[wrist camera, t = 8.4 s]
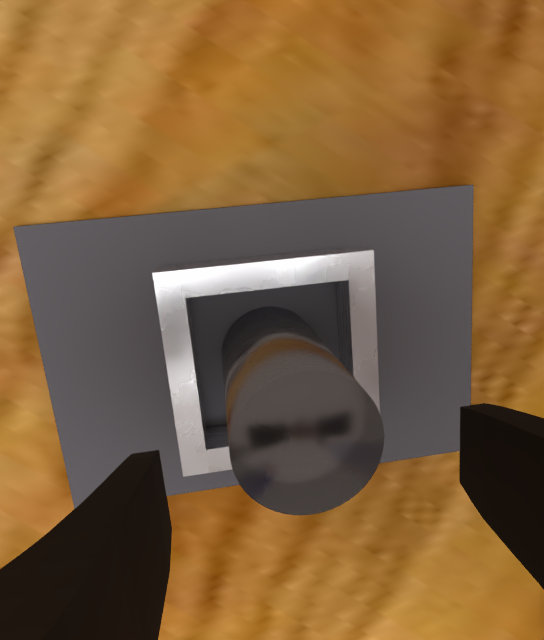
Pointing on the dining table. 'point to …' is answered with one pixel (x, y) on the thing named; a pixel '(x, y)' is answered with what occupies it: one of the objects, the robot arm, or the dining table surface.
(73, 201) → the dining table surface
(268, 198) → the dining table surface
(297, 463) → the grey upright cylinder
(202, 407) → the steel socket
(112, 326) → the dock mat
